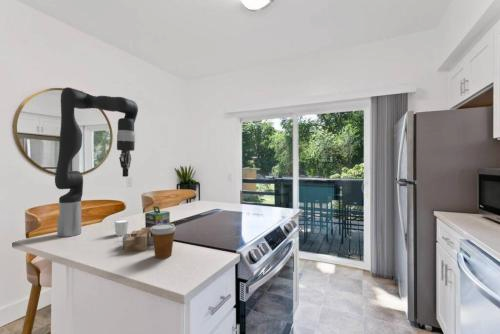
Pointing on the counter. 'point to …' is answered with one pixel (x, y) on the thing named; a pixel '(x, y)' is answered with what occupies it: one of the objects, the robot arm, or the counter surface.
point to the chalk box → (156, 218)
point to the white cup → (121, 227)
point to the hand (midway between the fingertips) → (125, 176)
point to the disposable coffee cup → (163, 239)
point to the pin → (149, 240)
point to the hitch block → (137, 240)
